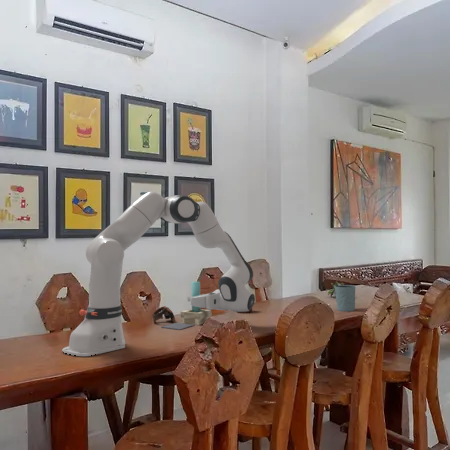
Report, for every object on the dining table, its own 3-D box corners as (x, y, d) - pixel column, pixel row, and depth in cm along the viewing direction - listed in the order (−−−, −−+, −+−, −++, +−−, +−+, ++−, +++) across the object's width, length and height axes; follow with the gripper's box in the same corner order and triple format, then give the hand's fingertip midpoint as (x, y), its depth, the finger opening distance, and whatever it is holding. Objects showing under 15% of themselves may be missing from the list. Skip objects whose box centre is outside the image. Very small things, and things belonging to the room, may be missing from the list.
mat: (179, 330, 187) (179, 329, 187) (161, 327, 193) (161, 326, 193) (194, 325, 196) (194, 324, 196) (176, 323, 201) (176, 322, 201)
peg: (197, 323, 201) (196, 282, 201) (190, 322, 203) (189, 282, 204) (202, 321, 204) (201, 281, 205) (195, 320, 207) (194, 281, 207)
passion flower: (343, 306, 270) (354, 290, 266) (332, 305, 263) (343, 289, 259) (332, 294, 278) (342, 278, 274) (320, 292, 271) (331, 276, 267)
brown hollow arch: (175, 325, 200) (166, 310, 198) (157, 334, 201) (148, 319, 199) (179, 313, 211) (170, 299, 210) (162, 322, 213) (153, 308, 211)
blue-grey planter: (355, 312, 221) (354, 287, 221) (334, 311, 224) (333, 287, 224) (356, 308, 231) (355, 285, 231) (336, 307, 234) (335, 284, 234)
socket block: (198, 325, 197) (198, 313, 197) (180, 322, 202) (180, 311, 202) (211, 321, 205) (211, 310, 205) (194, 319, 211) (194, 308, 211)
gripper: (232, 289, 205) (208, 288, 213) (206, 295, 188) (180, 293, 196) (233, 303, 205) (208, 301, 213) (207, 310, 188) (181, 307, 196)
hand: (194, 297), depth 204 cm, fingers open, 8 cm apart
